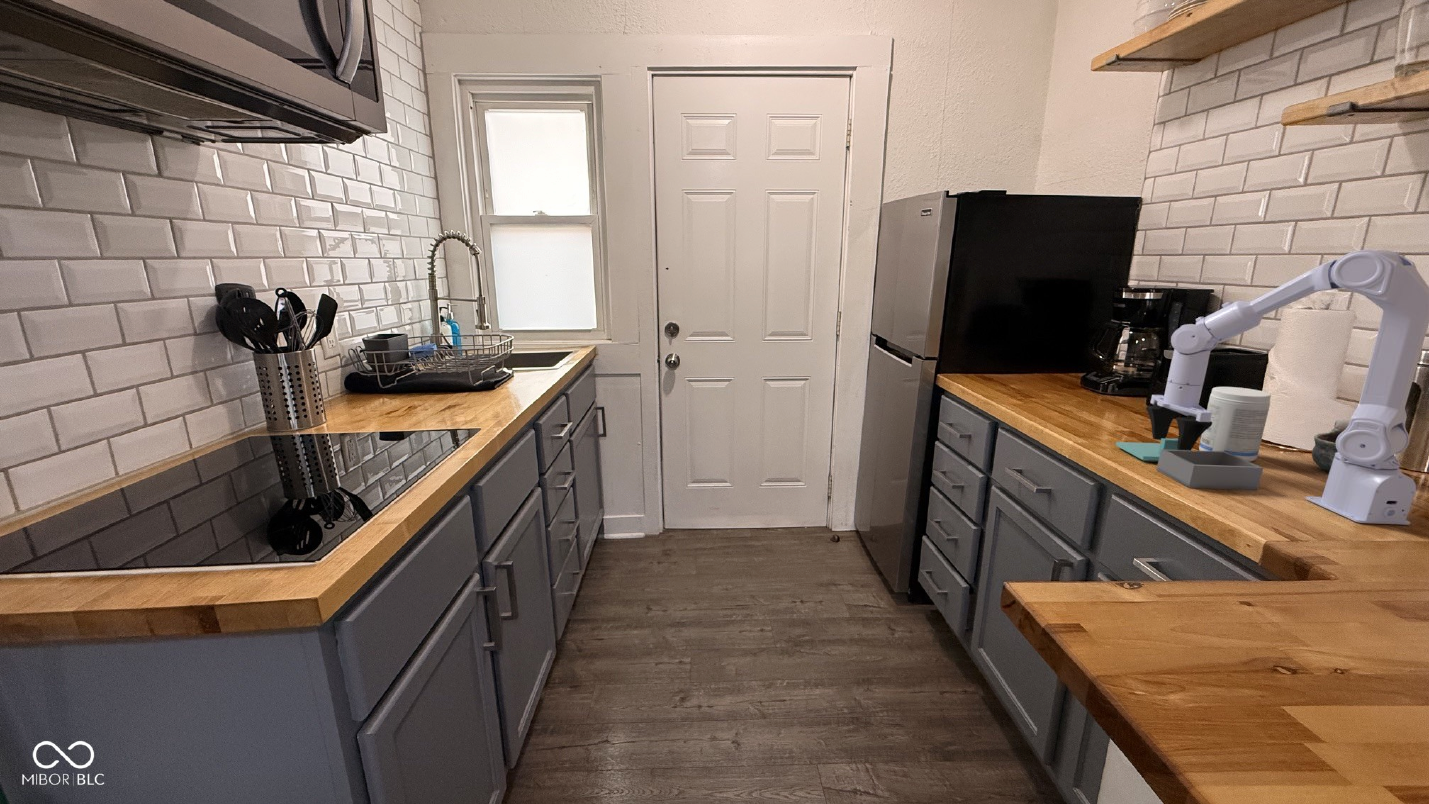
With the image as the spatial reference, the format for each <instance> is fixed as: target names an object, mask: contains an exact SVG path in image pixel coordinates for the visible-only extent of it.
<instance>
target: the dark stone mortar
mask: <svg viewBox="0 0 1429 804" xmlns="http://www.w3.org/2000/svg"><path fill="white" fill-rule="evenodd" d="M1349 423H1350V419H1349V420H1348V419H1338V420H1335V422H1334V426H1333V428H1331V430H1330V431H1328V432H1321V433H1317V434H1315V435H1314V437H1313V439H1314V446H1313V448H1312V450H1311V459H1312V460H1313V463H1315V464H1316V465H1317V466H1318V467H1319V468H1321V470H1324V471H1327V472H1328V473H1329V472H1330V469H1331V466H1332V463H1333V459H1334V456H1335V453H1337V452H1338V450H1337V448H1336V439H1337V437H1338V436H1339V435H1340V434H1341V433H1342V432H1343V431H1344V430H1345V429H1346V428H1347V427H1348V425H1349Z"/></svg>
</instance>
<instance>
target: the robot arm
mask: <svg viewBox="0 0 1429 804" xmlns="http://www.w3.org/2000/svg"><path fill="white" fill-rule="evenodd" d="M1342 289H1344V290H1347V291H1350V292H1352V293H1356V294H1358V295H1361V296H1364V297H1365V298H1366V299H1368V300H1369V301H1371V302H1372V303H1374V304H1375V305H1376V306H1377V307H1379V308H1380V309H1382V315H1381V320H1380V322H1379V327H1378V329H1377V334H1376V337H1375V338H1376V339H1375V341H1374V345H1373V349H1372V352H1371V356H1370V361H1369V365H1368V369H1367V372H1366V375H1365V379H1364V383H1363V385H1362V386H1363V387H1362V390H1361V394H1360V399H1359V402H1358V405H1357V407H1356V409H1355V410H1354V412H1353V414H1352V415H1351V417H1350V419H1349V421H1350V423H1349V425H1348V427H1347V428H1346V429H1345V430H1344V431H1343V432H1342V433H1341V434H1340V435H1339V436H1338V437H1337V439H1336V448H1337V450H1338V452H1337V453H1335V456H1334V459H1333V463H1332V466H1331V469H1330V472H1329V471H1328V476H1327V480H1326V483H1325V486H1324V490H1323V492H1322V495H1321V496H1305V500H1307V501H1309V502H1312V503H1313V504H1316V505H1318V506H1320V507H1322V508H1323V509H1324V508H1325V509H1327V510H1329V511H1331V512H1333V513H1336V514H1338V515H1340V516H1342V517H1345V518H1347V519H1349V520H1350V521H1351V520H1352V521H1354V522H1356V523H1360V524H1377V525H1378V524H1379V525H1380V524H1382V525H1385V524H1386V525H1404V526H1405V525H1406V526H1407V525H1409V526H1410V524H1411V521H1409V520H1407V517H1408V516H1409V512H1410V510H1411V506H1412V504H1413V502H1414V497H1415V495H1416V493H1417V484H1416V482H1415V480H1414V479H1413V478H1411V477H1410V476H1408V475H1406V474H1404V473H1403V472H1402V471H1401V469H1400V467H1401V463H1400V462H1399V460H1398V458H1397V456H1395V455H1398V454H1400V453H1401V452H1403V451H1405V449H1407V448H1408V446H1409V443H1410V436H1409V433H1408V431H1407V429H1406V421H1407V419H1408V416H1407V412H1406V411H1407V410H1406V404H1407V403H1408V398H1409V395H1410V391H1411V387H1412V384H1413V381H1414V378H1415V373H1416V370H1417V366H1418V363H1419V359H1420V356H1421V353H1422V349H1423V346H1424V342H1425V340H1426V339H1425V338H1426V335H1427V331H1428V328H1429V285H1428V284H1427V282H1426V281H1425V279H1424V278H1423V277H1422V275H1421V274H1420V272H1419V270H1418V269H1417V265H1416V263H1415V262H1413V261H1412V260H1411V259H1409V258H1406V257H1405V256H1403V255H1401V254H1400V253H1398V252H1395V251H1392V250H1387V249H1386V250H1385V249H1384V250H1383V249H1382V250H1381V249H1380V250H1371V249H1359V250H1354V251H1350V252H1349V253H1347V254H1344V255H1343V256H1341V257H1340V258H1338V259H1333V260H1330V261H1327V262H1325V263H1322V264H1320V265H1318V266H1316V267H1314V268H1312V269H1310V270H1308V271H1306V272H1303V273H1302V274H1301V275H1298V276H1296V277H1294V278H1293V279H1291V280H1289V281H1287V282H1285V283H1284V284H1281V285H1280V286H1278V287H1276V288H1275V289H1272V290H1270V291H1268V292H1266V293H1265V294H1263V295H1261V296H1260V297H1258V298H1255V299H1253V300H1252V301H1246V300H1236V301H1227V302H1225V303H1222V304H1221V307H1222V308H1221V309H1218V310H1216V311H1214V312H1213V313H1211V314H1208V315H1207V316H1205V317H1204V316H1199V317H1198V318H1195V324H1193V323H1189V324H1188V323H1187V324H1183V325H1180V327H1179V328H1177V329H1176V330H1174V332H1173V333H1172V335H1171V336H1170V343H1171V344H1170V345H1171V346H1172V348H1173V354H1172V359H1171V362H1170V367H1169V371H1168V377H1167V381H1166V385H1165V391H1164V395H1163V394H1152V395H1151V399H1150V404H1152V406H1151V405H1148V406H1146V408H1145V410H1146V412H1147V414H1148V416H1149V420H1150V423H1151V433H1152V435H1151V436H1152V439H1153V440H1157V441H1158V440H1159V441H1161V438H1167V436H1168V434H1169V430H1170V427H1171V424H1172V422H1173V421H1174V419H1175V420H1176V424H1177V429H1178V436H1177V437H1178V438H1177V439H1178V444H1177V449H1178V450H1192V449H1193V448H1194V447H1195V444H1196V443H1197V442H1198V440H1199V438H1201V436H1202V433H1203V432H1204V431H1205V430H1207V429H1208V428H1209V427H1210V426H1212V422H1211V421H1210V420H1211V415H1212V413H1211V412H1209V411H1207V409H1205V408H1204V407H1202V406H1201V405H1200V404H1199V403H1200V399H1201V395H1202V390H1203V386H1204V383H1205V378H1206V374H1207V368H1208V364H1209V359H1210V354H1211V351H1212V350H1214V349H1215V348H1216V347H1217V346H1218V344H1221V343H1223V342H1226V341H1228V340H1230V339H1232V338H1234V337H1237V336H1238V335H1241V334H1243V333H1245V332H1247V331H1250V330H1252V329H1254V328H1256V327H1258V326H1259V325H1260V324H1261V321H1262V319H1263V317H1264V315H1267V314H1270V313H1271V312H1274V311H1276V310H1279V309H1282V308H1284V307H1286V306H1288V305H1290V304H1292V303H1295V302H1297V301H1298V300H1301V299H1304V298H1306V297H1309V296H1311V295H1313V294H1316V293H1318V292H1322V291H1332V290H1333V291H1334V290H1342ZM1178 413H1179V414H1182V415H1184V416H1187V417H1183V416H1182V417H1180V416H1179V417H1176V415H1177V414H1178ZM1175 417H1176V418H1175Z"/></svg>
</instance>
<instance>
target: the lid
mask: <svg viewBox="0 0 1429 804" xmlns="http://www.w3.org/2000/svg"><path fill="white" fill-rule="evenodd" d="M1177 444H1178V438H1168V437H1166V438H1161V440H1160V443H1157V442H1128V441H1127V442H1126V441H1125V442H1123V441H1116V443H1115V446H1116V447H1118V448H1121V449H1122V450H1123V451H1125V452H1127V453H1129V454H1130V455H1132V456H1134V457H1135V458H1138V459H1140V460H1142V461H1144V462H1156V463H1158V461H1159V457H1160V452H1161V449H1163V450H1178V449H1177Z"/></svg>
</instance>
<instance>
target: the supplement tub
mask: <svg viewBox="0 0 1429 804" xmlns="http://www.w3.org/2000/svg"><path fill="white" fill-rule="evenodd" d="M1271 398H1272V395H1271V393H1269V392H1266V391H1263V390H1258V389H1252V388H1246V387H1245V388H1244V387H1236V386H1235V387H1234V386H1216V387H1213V388H1212V389H1211V393H1210V395H1209V399H1208V403H1207V408H1206V410H1207V411H1209V412H1211V413H1212V415H1211V420H1210V421H1211V422H1212V426H1210V427H1209V428H1208V429H1207V430H1205V431H1204V432H1203V433H1202V435H1201V436H1200V442H1199V445H1198V449H1199V450H1198V451H1225V452H1227V453H1229V454H1232V455H1234V456H1237V457H1239V458H1241V459H1244V460H1246V461H1248V462H1251V463H1252V462H1254V461H1255V460H1257V458H1258V455H1259V452H1260V448H1261V443H1262V440H1263V436H1264V431H1265V426H1266V422H1267V419H1268V416H1269V415H1268V414H1269V411H1270V406H1271Z"/></svg>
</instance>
